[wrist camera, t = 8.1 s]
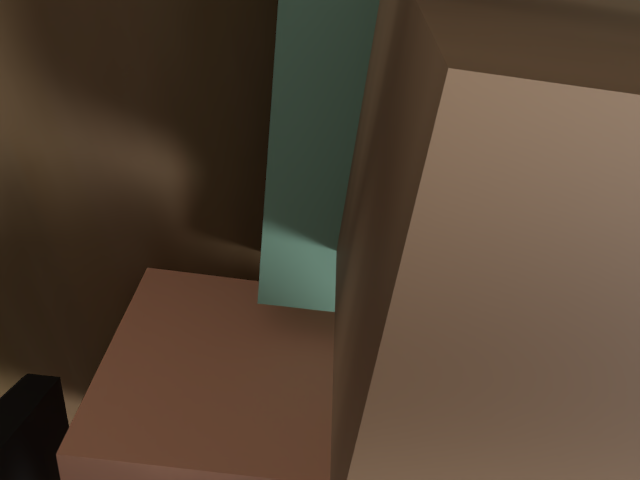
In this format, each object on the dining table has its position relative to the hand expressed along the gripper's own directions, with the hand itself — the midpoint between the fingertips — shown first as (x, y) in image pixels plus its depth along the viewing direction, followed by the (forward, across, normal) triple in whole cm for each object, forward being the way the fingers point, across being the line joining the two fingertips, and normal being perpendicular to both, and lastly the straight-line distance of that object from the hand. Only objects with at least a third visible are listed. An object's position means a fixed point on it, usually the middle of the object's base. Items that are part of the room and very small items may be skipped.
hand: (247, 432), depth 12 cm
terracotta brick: (+2, 0, 0) cm, 2 cm away
